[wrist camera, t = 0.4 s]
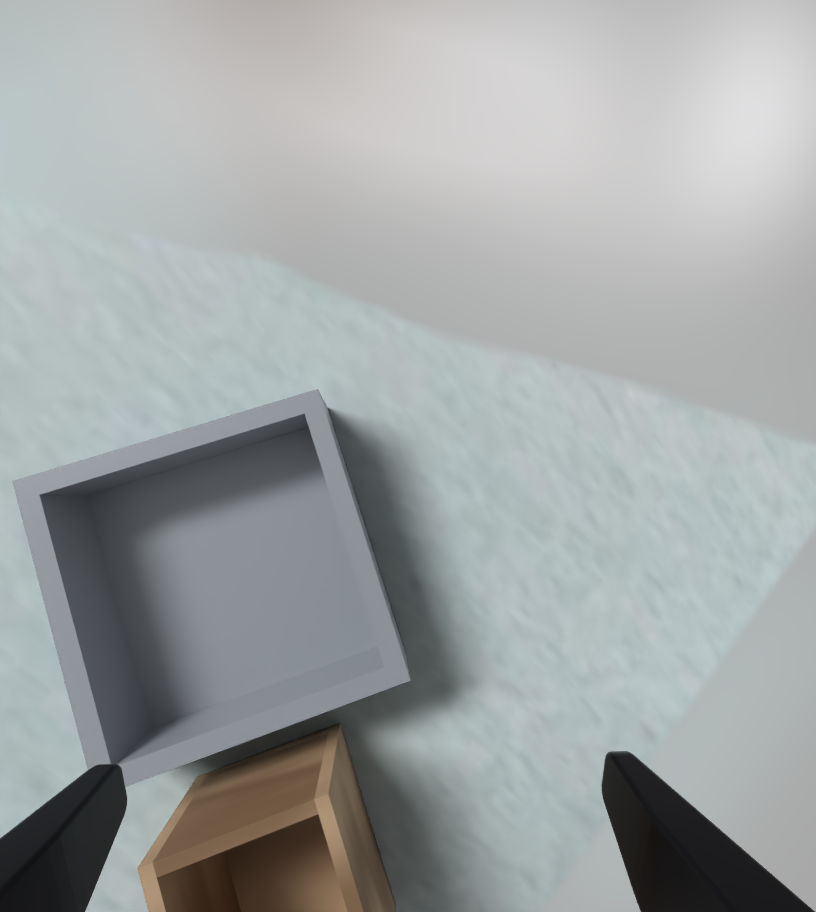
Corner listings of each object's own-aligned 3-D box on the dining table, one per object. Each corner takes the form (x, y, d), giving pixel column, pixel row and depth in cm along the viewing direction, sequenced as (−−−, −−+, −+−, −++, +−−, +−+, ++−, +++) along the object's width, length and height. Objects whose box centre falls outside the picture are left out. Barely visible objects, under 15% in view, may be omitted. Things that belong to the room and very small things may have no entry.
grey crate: (404, 650, 21) (410, 680, 18) (144, 746, 20) (95, 797, 16) (327, 406, 22) (317, 389, 18) (73, 484, 21) (12, 481, 17)
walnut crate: (395, 904, 20) (401, 1037, 15) (249, 965, 19) (205, 1125, 14) (340, 723, 21) (328, 794, 16) (197, 776, 20) (137, 868, 15)
